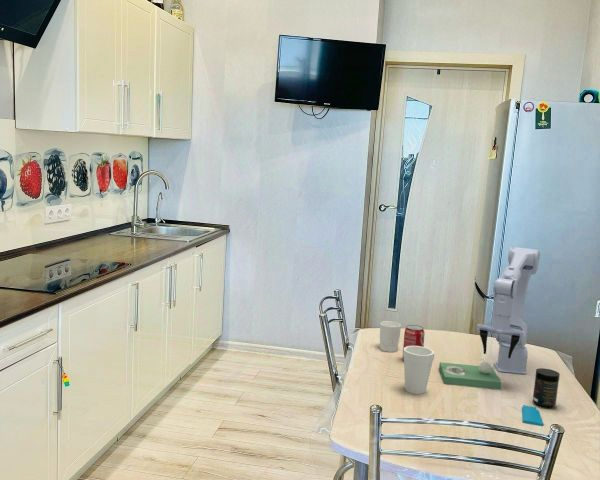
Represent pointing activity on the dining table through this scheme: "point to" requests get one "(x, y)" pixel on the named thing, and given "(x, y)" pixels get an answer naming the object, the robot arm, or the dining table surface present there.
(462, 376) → the putting mat
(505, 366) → the robot arm
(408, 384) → the foam cup
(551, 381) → the supplement container
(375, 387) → the dining table surface
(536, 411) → the sponge
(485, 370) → the ball
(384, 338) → the white cup
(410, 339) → the soda can
